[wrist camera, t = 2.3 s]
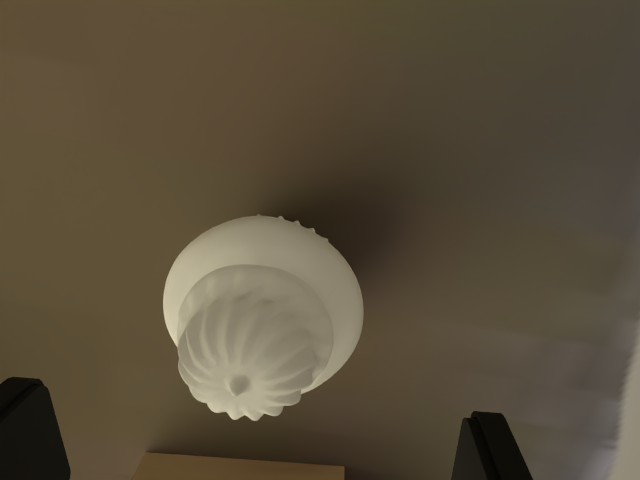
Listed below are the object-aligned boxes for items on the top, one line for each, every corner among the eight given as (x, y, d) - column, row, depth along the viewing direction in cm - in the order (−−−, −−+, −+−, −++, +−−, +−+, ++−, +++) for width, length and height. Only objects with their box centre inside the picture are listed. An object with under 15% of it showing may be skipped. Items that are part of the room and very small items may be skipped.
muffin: (197, 179, 15) (79, 266, 8) (366, 189, 14) (382, 287, 8) (208, 323, 17) (123, 477, 11) (353, 334, 17) (357, 498, 10)
